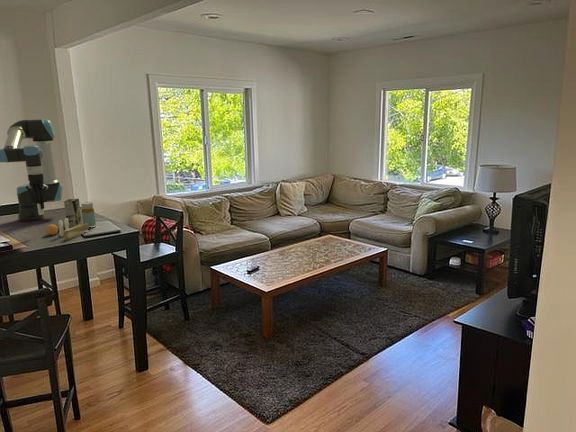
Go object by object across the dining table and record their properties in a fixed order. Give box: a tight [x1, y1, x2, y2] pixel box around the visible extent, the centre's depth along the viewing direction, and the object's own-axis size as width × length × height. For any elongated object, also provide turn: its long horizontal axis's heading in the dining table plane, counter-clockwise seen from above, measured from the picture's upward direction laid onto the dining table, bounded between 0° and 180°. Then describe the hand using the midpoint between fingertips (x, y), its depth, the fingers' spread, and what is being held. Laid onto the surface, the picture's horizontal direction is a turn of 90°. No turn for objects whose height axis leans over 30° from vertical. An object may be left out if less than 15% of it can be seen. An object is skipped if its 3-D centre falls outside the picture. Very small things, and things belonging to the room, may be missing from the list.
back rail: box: [63, 222, 90, 241], centre depth 247 cm, size 3×18×5 cm, turn 171°
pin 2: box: [63, 217, 70, 230], centre depth 250 cm, size 2×2×9 cm
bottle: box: [81, 201, 97, 226], centre depth 264 cm, size 7×7×15 cm
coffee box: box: [63, 198, 83, 228], centre depth 270 cm, size 9×6×16 cm
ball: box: [45, 224, 59, 236], centre depth 249 cm, size 6×6×6 cm
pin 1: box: [57, 220, 64, 237], centre depth 245 cm, size 2×2×9 cm
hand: (41, 214), depth 249 cm, fingers closed
